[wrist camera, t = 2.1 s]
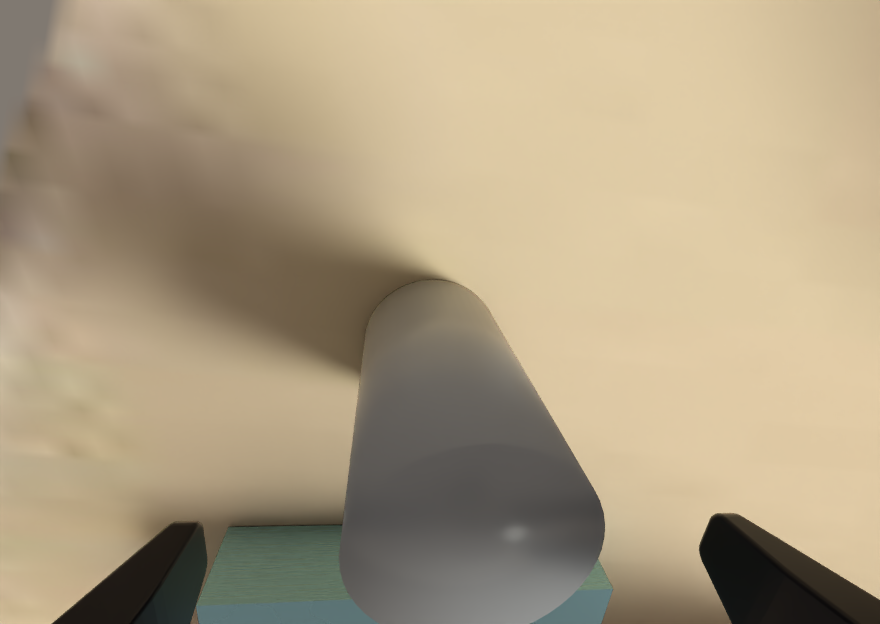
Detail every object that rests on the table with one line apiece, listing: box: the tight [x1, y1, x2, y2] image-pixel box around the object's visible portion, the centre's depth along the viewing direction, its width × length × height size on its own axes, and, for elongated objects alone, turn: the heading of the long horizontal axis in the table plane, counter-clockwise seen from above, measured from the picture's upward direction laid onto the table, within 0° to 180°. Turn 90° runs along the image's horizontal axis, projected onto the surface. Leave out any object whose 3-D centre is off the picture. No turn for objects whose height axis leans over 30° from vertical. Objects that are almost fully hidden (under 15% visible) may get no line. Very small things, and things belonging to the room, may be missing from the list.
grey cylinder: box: [339, 280, 605, 624], centre depth 11 cm, size 4×4×8 cm
